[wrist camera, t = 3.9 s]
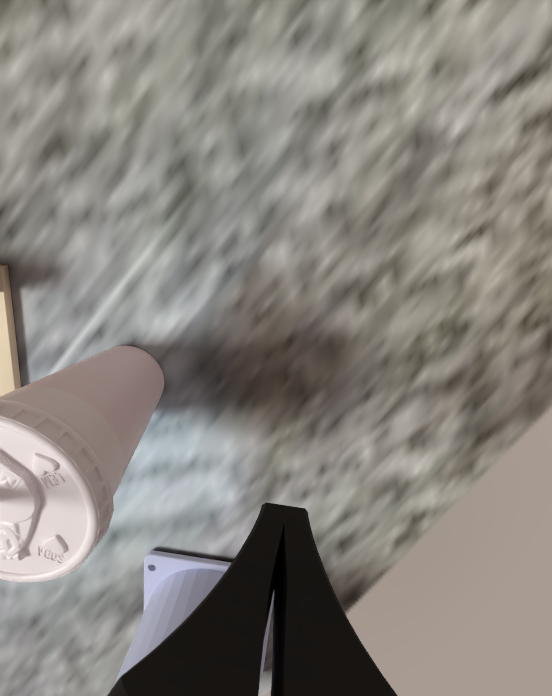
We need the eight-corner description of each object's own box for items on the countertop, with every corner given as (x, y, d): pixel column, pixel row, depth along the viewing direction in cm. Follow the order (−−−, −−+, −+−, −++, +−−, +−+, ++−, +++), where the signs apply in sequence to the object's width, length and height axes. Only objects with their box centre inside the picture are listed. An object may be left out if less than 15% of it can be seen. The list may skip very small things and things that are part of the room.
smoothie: (182, 318, 20) (-55, 529, 7) (196, 433, 23) (30, 759, 9) (58, 320, 21) (-367, 519, 8) (83, 432, 23) (-221, 736, 10)
